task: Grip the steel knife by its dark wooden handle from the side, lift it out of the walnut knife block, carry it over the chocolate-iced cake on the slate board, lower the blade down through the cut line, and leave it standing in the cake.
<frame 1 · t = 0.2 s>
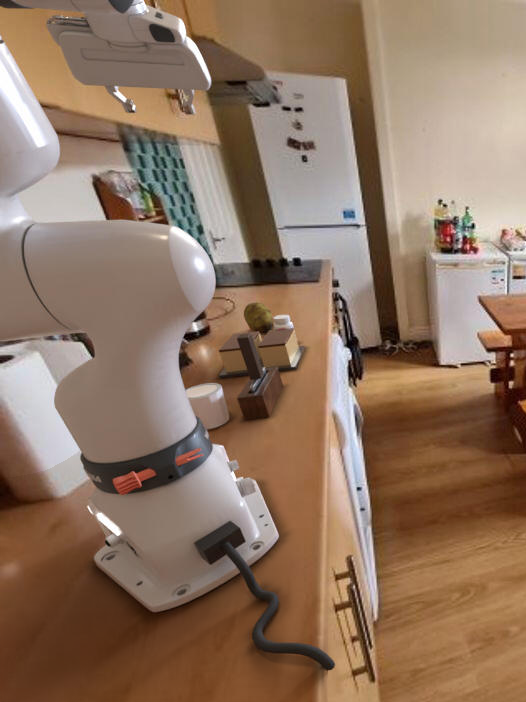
hand: (162, 112, 80), 54 cm above the worktop, tool tilted 30°, fingers open, 8 cm apart
knife: (255, 370, 85), in the knife block
pill bottle: (289, 345, 119), on the worktop
cake: (265, 362, 108), on the worktop
knife block: (265, 402, 88), on the worktop
white cylinder: (213, 422, 82), on the worktop
kiwi fruit: (262, 330, 131), on the worktop
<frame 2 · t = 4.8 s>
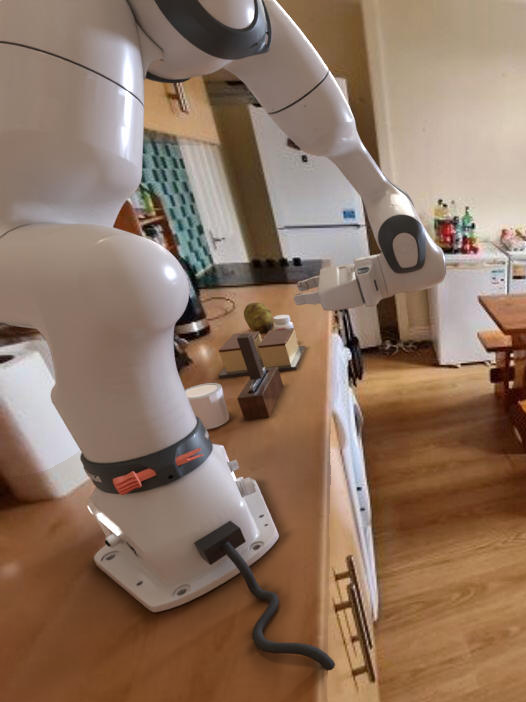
hand: (296, 293, 82), 22 cm above the worktop, tool horizontal, fingers open, 8 cm apart
nothing on the worktop moved.
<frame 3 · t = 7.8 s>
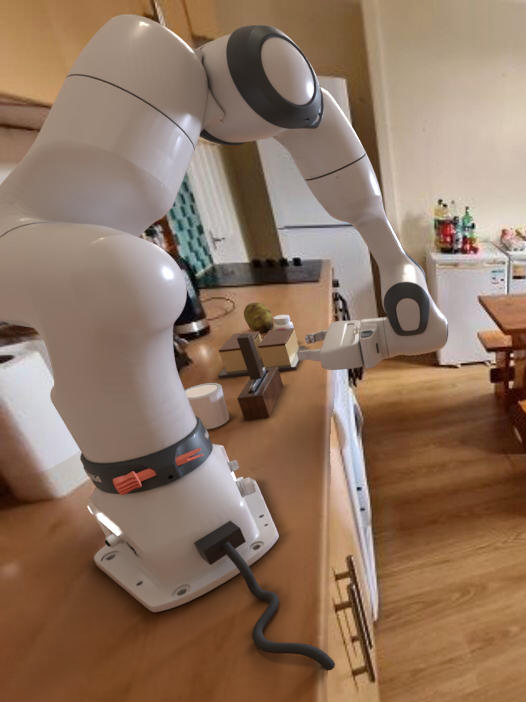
hand: (302, 346, 85), 12 cm above the worktop, tool horizontal, fingers open, 8 cm apart
nothing on the worktop moved.
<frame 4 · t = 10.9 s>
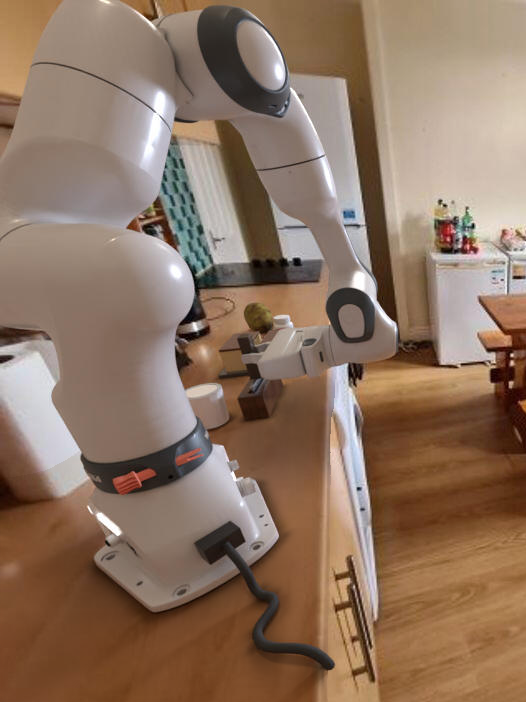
hand: (245, 355, 83), 11 cm above the worktop, tool horizontal, fingers closed on knife, 2 cm apart
knife: (255, 370, 85), in the knife block, touching gripper
everything else where it was.
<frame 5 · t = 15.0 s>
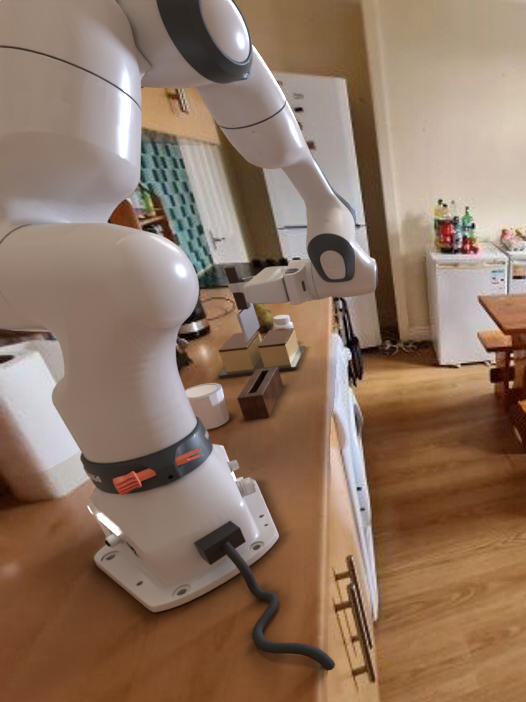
hand: (232, 285, 89), 22 cm above the worktop, tool horizontal, fingers closed on knife, 2 cm apart
knife: (242, 301, 90), point 19 cm above the worktop, touching gripper
everything else where it was.
when the fingers open (12 cm above the worktop, at t = 19.4 s): knife stays where it is, resting on cake.
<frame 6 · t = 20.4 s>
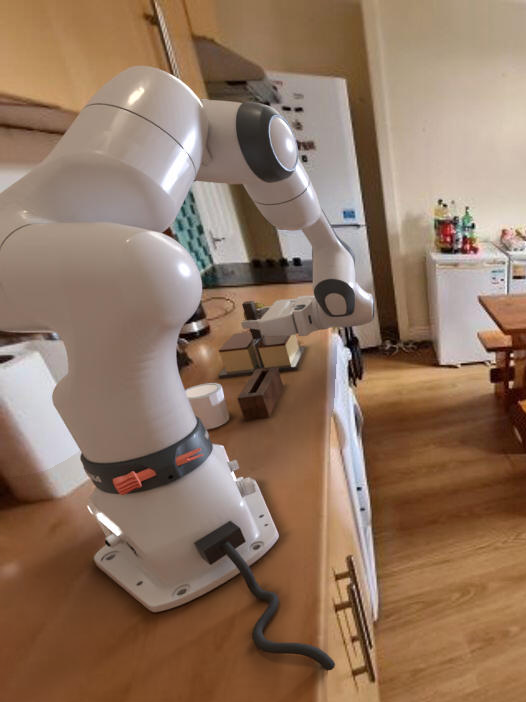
hand: (248, 318, 102), 12 cm above the worktop, tool horizontal, fingers open, 8 cm apart
knife: (256, 331, 104), point 8 cm above the worktop, touching cake
everything else where it was.
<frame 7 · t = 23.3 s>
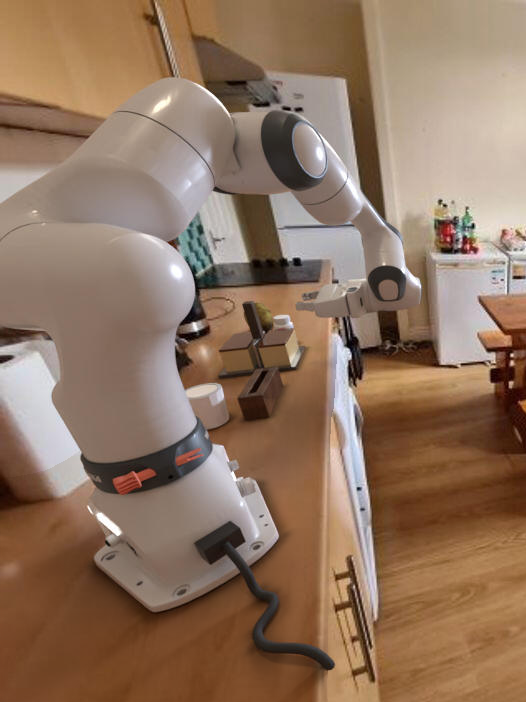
hand: (299, 301, 104), 15 cm above the worktop, tool horizontal, fingers open, 8 cm apart
nothing on the worktop moved.
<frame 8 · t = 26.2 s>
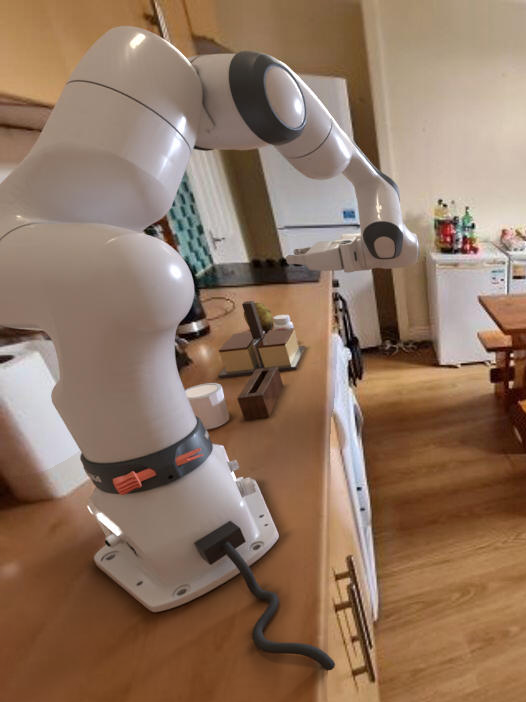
hand: (290, 256, 99), 26 cm above the worktop, tool horizontal, fingers open, 8 cm apart
nothing on the worktop moved.
at the end: knife 0.1 cm off-centre on the cake, point 8.3 cm above the cake's base; knife touching cake; the gripper is holding nothing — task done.
